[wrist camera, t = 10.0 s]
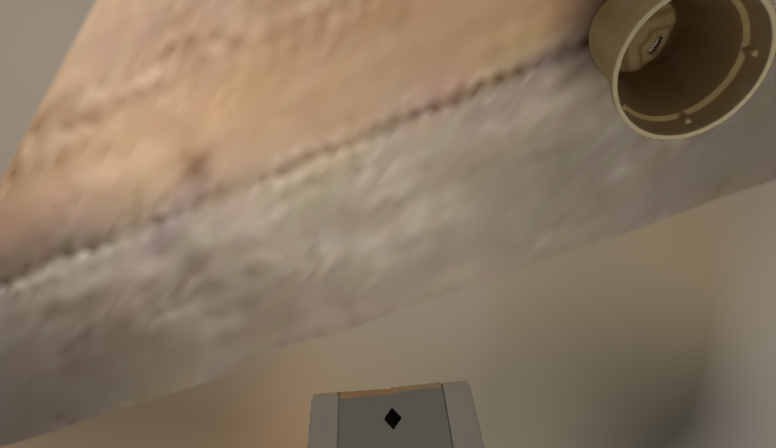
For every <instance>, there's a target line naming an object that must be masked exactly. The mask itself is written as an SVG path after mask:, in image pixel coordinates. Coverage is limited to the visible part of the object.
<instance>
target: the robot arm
mask: <svg viewBox="0 0 776 448" xmlns="http://www.w3.org/2000/svg"><path fill="white" fill-rule="evenodd" d="M308 448H484V444H483V440H482V436H481V431H480V427H479V423H478V419H477V414H476V410H475V406H474V401H473V397H472V393H471V389H470V385H469V384H468V382H467V381H466V380H464V381H456V382H445V383H440V382H438V383H428V384H418V385H409V386H400V387H391V388H389V389H374V390H361V391H360V390H359V391H344V392H330V393H319V394H314V395H313V398H312V401H311V411H310V424H309V437H308Z"/></svg>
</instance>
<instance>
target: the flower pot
mask: <svg viewBox="0 0 776 448" xmlns="http://www.w3.org/2000/svg"><path fill="white" fill-rule="evenodd" d="M588 35H589V50H590V54H591V56H592V59H593V60H594V61H595V63H596V64H597V65H598V67H599V68H600V70H601V72H602V73H603V75H604V76H605V78H606V79H607V81H608V82H609V84H610V85H611V95H612V100H613V104H614V106H615V109H616V111H617V113H618V115H619V116H620V118H621V119H622V120H623V122H624V123H625V124H626V125H627V126H628V127H629V128H631V129H632V130H633V131H635V132H636V133H638V134H640V135H643V136H645V137H648V138H653V139H658V140H674V139H684V138H688V137H691V136H694V135H697V134H700V133H703V132H705V131H707V130H709V129H711V128H713V127H715V126H716V125H719V124H720V123H722V122H723V121H725V120H726V119H727V118H728V117H730V116H731V115H732V114H734V113H735V112H736V111H738V110H739V108H740V107H742V106H743V105H744V104H745V103H746V102H747V101H748V100H749V98H750V97H751V96H752V95H753V94H754V92H755V91H756V90H757V88H758V87H759V85H760V84H761V83H762V81H763V80H764V78H765V76H766V74H767V73H768V70H769V68H770V67H771V65H772V62H773V58H774V55H775V52H776V12H775V9H774V7H773V5H772V3H771V2H770V0H606V1H605V2H604V3H603V5H602V6H601V7H600V8H599V10H598V11H597V13H596V14H595V16H594V18H593V20H592V23H591V25H590V29H589V34H588ZM659 37H662V38H661V40H660V43H659V44H658V45H657V47H656V48H655V50H654V51H653V52H652V53H649V49H650V47H651V46H652V45H653V44H654V43H655V42H656V40H657V39H658V38H659Z"/></svg>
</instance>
